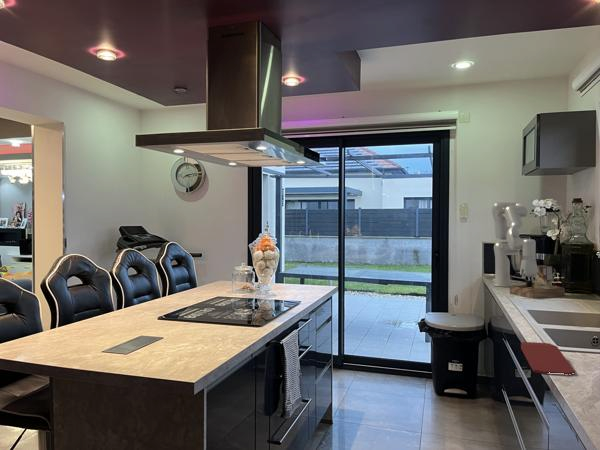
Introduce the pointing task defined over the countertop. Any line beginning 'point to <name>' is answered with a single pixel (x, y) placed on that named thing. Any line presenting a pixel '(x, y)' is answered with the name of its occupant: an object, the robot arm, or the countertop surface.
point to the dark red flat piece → (545, 358)
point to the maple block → (536, 285)
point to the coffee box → (544, 274)
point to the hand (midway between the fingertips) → (529, 286)
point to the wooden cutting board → (537, 291)
